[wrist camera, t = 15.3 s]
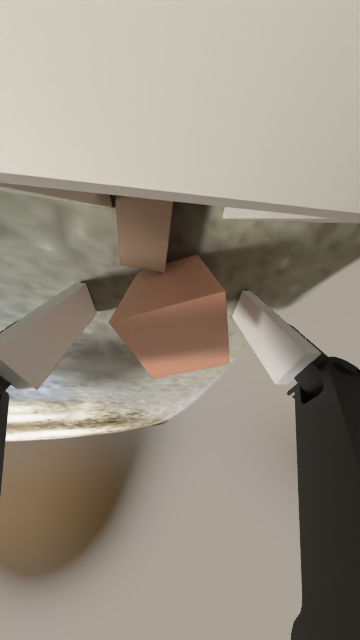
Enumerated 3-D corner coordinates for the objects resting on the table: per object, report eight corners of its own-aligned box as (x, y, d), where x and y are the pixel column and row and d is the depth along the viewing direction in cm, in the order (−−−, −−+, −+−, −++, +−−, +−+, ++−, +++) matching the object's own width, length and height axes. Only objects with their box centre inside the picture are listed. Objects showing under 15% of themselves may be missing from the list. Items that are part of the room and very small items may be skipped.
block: (137, 272, 10) (108, 322, 5) (196, 254, 9) (225, 291, 5) (159, 318, 13) (153, 379, 8) (205, 306, 12) (229, 363, 7)
